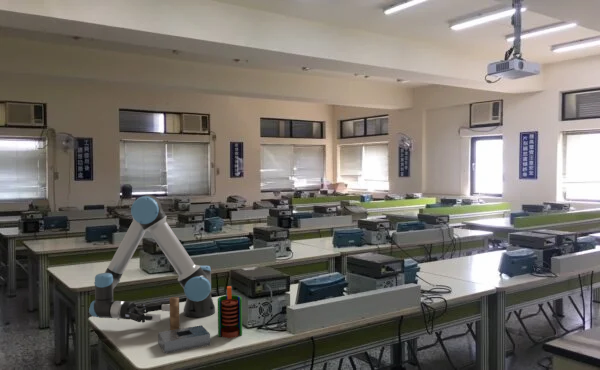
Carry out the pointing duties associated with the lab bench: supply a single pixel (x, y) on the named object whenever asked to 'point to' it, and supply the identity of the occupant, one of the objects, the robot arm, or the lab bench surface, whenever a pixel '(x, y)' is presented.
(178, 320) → the pin
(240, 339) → the lab bench surface
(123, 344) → the lab bench surface
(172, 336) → the hole block
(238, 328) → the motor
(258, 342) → the lab bench surface
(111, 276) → the robot arm
